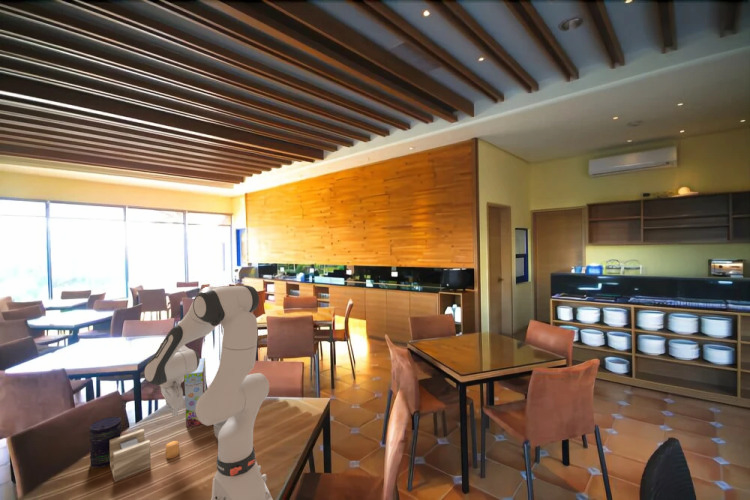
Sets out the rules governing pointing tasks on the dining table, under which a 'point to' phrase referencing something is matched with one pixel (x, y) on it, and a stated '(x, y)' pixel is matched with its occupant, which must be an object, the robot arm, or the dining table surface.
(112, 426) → the storage jar
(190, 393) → the snack box
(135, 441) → the wooden napkin holder
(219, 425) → the teacup
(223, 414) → the robot arm
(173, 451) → the brown egg
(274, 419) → the dining table surface
